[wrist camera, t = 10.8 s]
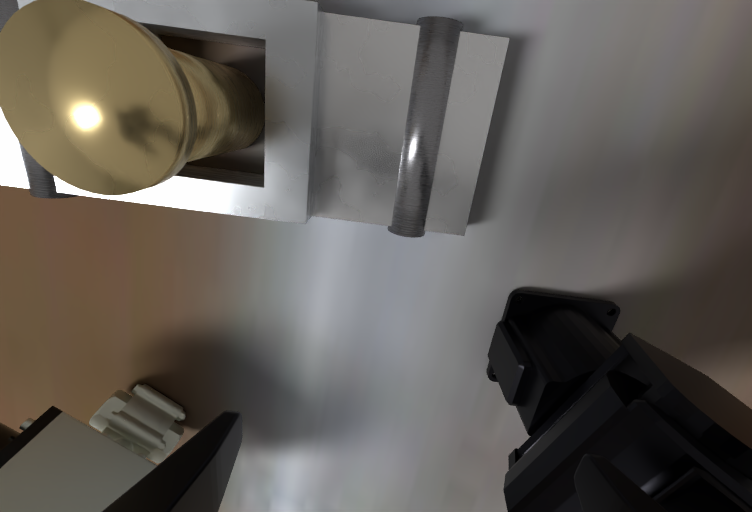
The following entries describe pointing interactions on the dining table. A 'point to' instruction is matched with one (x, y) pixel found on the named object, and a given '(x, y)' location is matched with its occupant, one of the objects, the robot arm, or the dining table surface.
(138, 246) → the dining table surface
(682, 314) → the dining table surface
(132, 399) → the pneumatic valve
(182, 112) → the brass knob
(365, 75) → the silver plate
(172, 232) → the dining table surface
